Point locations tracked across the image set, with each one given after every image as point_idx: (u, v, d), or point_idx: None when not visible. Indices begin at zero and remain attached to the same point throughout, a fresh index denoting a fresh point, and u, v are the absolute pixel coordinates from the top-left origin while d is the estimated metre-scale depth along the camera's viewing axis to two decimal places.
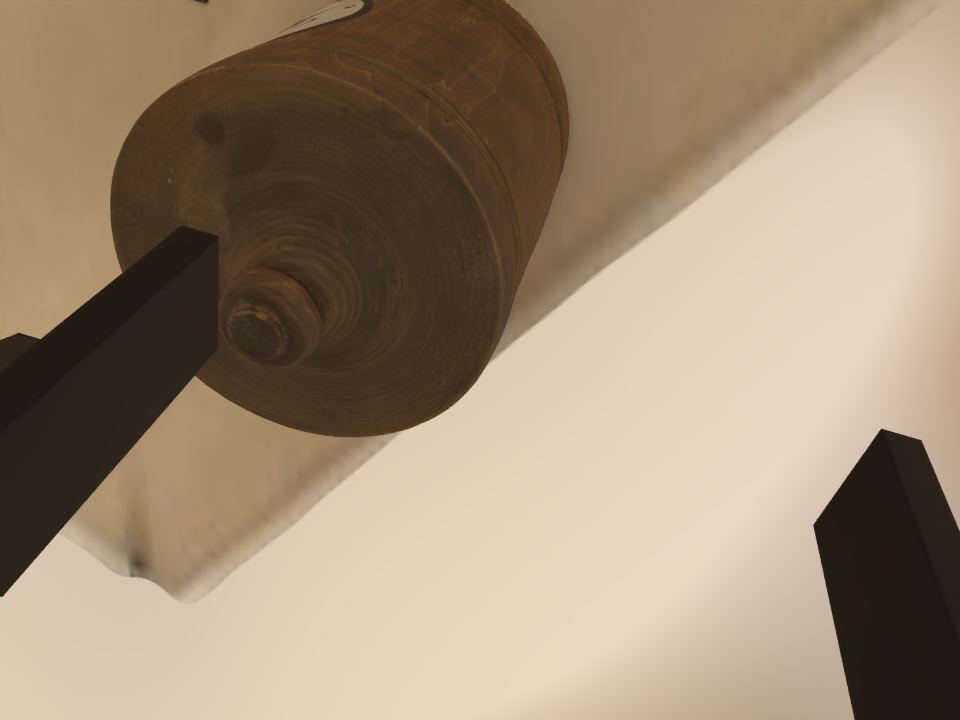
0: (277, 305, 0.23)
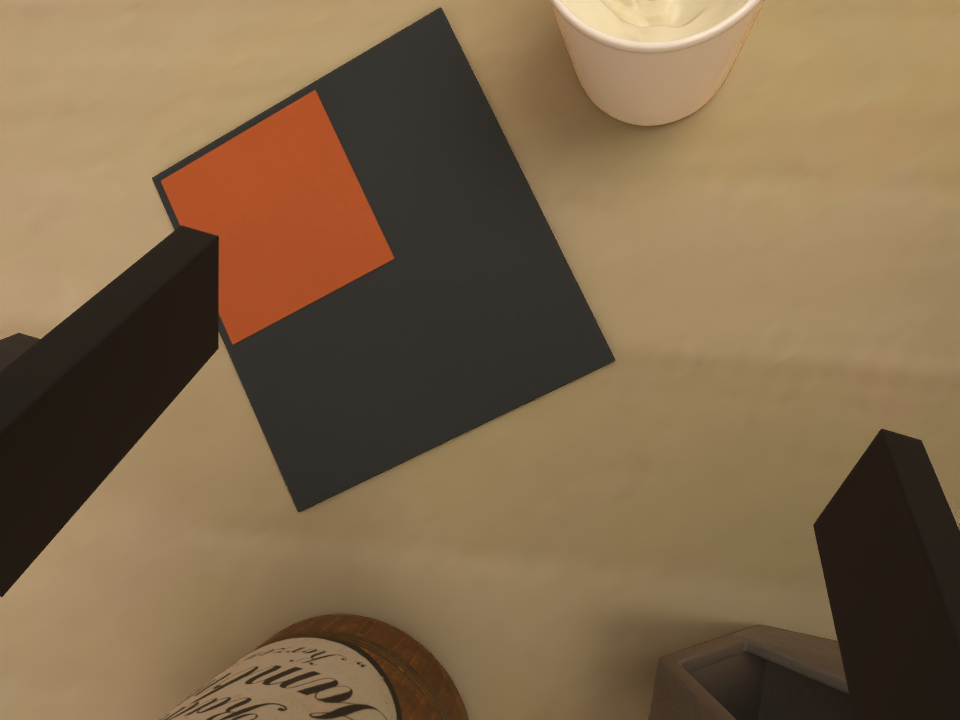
0: None
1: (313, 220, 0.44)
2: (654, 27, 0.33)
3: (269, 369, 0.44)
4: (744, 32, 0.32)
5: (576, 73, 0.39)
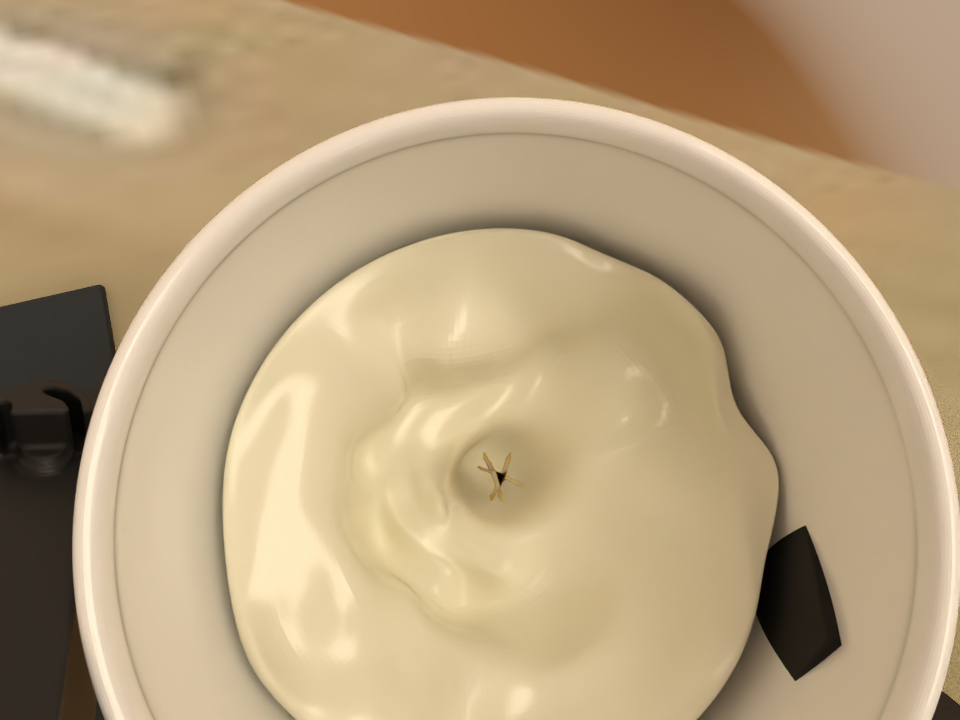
0: None
1: None
2: (462, 661, 0.12)
3: None
4: None
5: None
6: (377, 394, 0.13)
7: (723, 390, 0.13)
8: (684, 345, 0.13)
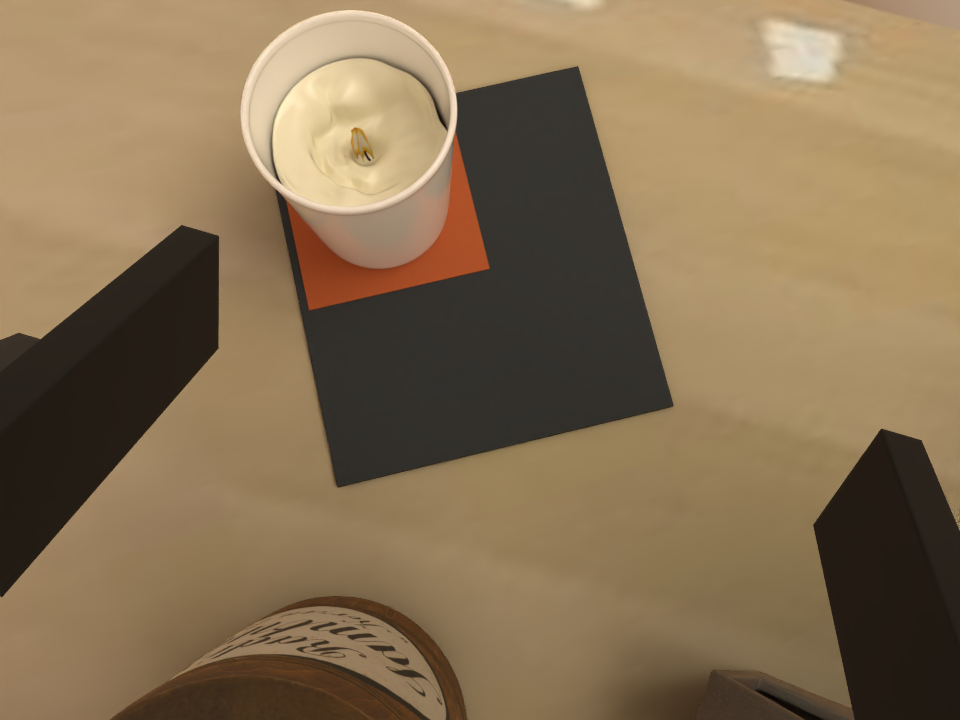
0: None
1: None
2: (345, 189, 0.38)
3: (341, 342, 0.45)
4: (414, 215, 0.37)
5: None
6: (321, 113, 0.39)
7: (433, 113, 0.39)
8: (421, 98, 0.39)
